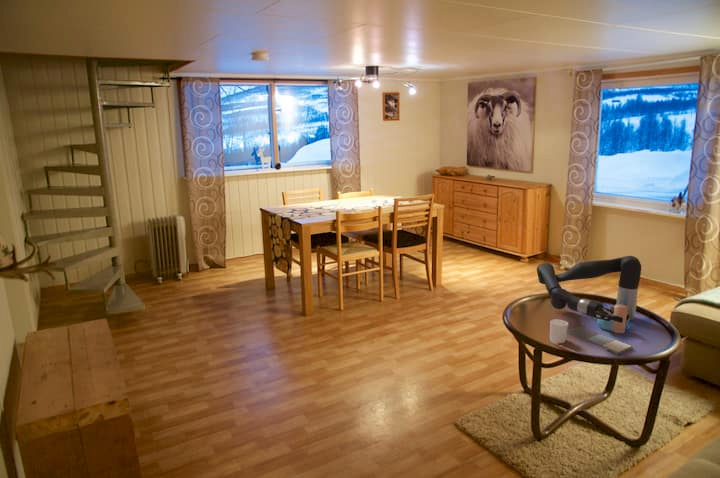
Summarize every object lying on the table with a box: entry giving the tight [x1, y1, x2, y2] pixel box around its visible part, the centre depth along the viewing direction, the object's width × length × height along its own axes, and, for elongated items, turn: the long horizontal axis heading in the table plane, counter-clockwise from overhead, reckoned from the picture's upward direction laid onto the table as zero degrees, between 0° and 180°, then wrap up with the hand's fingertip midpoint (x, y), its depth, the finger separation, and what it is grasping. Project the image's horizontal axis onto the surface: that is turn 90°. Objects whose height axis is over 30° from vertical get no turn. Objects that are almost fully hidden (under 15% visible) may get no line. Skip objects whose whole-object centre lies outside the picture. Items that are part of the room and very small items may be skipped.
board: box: [567, 326, 634, 356], centre depth 239 cm, size 12×28×2 cm, turn 31°
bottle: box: [611, 303, 628, 334], centre depth 227 cm, size 5×5×12 cm
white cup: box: [549, 318, 569, 345], centre depth 237 cm, size 8×8×10 cm
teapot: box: [593, 306, 631, 333], centre depth 251 cm, size 20×17×12 cm
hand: (625, 319), depth 225 cm, fingers closed on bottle, 5 cm apart
